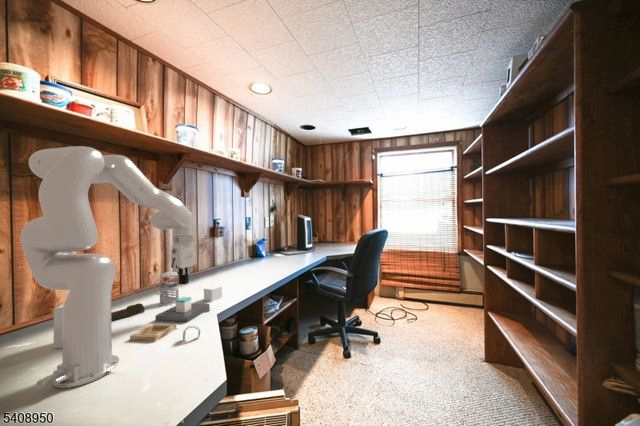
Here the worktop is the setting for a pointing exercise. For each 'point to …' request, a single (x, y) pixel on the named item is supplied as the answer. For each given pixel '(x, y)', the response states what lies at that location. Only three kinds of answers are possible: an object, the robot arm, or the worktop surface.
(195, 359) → the worktop surface
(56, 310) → the small box
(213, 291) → the white cube
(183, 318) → the port panel
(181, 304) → the plug
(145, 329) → the wooden square tray
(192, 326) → the wristwatch
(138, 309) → the hand tool
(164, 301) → the french press
